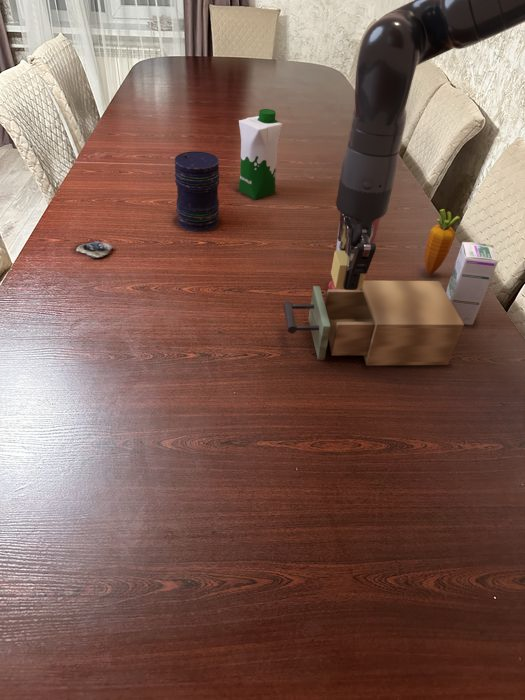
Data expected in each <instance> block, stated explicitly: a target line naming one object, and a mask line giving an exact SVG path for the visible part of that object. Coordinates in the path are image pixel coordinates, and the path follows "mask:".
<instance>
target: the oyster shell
mask: <svg viewBox="0 0 525 700" xmlns="http://www.w3.org/2000/svg"><path fill="white" fill-rule="evenodd" d="M113 248H114V246H113V245H112V244H110V243H108V242H104V241H103V242H102V241H98V240H97V241H92V242H90V243H83V244H80V245H78V246H77V247H76V252H79V253H81V254H86V255H87V256H89V257H91V258H93V259H98V258H103V257H104V256H106V255H109V253H110V252H111V250H112V249H113Z"/></svg>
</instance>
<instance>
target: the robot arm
mask: <svg viewBox="0 0 525 700" xmlns="http://www.w3.org/2000/svg"><path fill="white" fill-rule="evenodd" d="M524 23H525V0H411V1H409V2H407V3H406V4H403V5H401V6H399V7H397V8H394V9H393V10H390V11H389V12H387V13H385V14H384V15H382V16H381V17H380V18H379V19H377V20H376V21H375V22H374V23H372V25H370V27H369V28H368V29H367V31H366V32H365V33H364V35H363V38H362V40H361V43H360V46H359V49H358V54H357V55H358V56H357V60H356V61H357V62H356V69H355V82H354V84H355V85H354V109H353V113H352V117H351V122H350V127H349V134H348V139H347V145H346V149H345V152H344V155H343V159H342V165H341V171H340V177H339V182H338V188H337V193H336V194H337V195H336V200H335V206H336V209H337V211H338V212H340V214H341V215H340V214H339V221H340V225H339V224H338V228H339V235H338V234H337V238H338V241H341V242H340V245H339V248H340V250H342V251H345V253H346V254H347V255H348V258H347V265H346V273H345V278H344V284H343V287H344V289H345V290H356V289H357V288H358V283H359V279H360V274H365V275H366V274H368V271H369V269H370V266H371V263H372V261H373V258H374V255H375V253H376V250H377V244H376V243H375V242H373V243H370V241H371V238H372V236H373V225H372V222H373V221H375V220H376V219H378V218H380V219H381V218H383V217H384V216H385V215H386V214H387V212H388V209H389V204H390V201H391V200H390V199H391V196H392V192H393V188H394V183H395V179H396V174H397V172H398V171H397V170H398V165H399V163H398V162H399V154H400V149H401V144H402V141H403V136H404V131H405V127H406V123H407V108H406V107H407V104H408V100H409V96H410V92H411V88H412V84H413V80H414V77H415V72H416V69H417V67H418V66H420V65H421V64H423V63H425V62H427V61H429V60H432V59H433V58H434V59H435V58H436V57H438V56H440V55H443V54H444V53H447V52H449V51H451V50H454V49H456V50H461V49H462V50H463V49H465V48H468V47H469V48H470V47H472V46H474V45H477V44H479V43H481V42H483V41H486V40H488V39H490V38H493V37H495V36H497V35H499V34H502V33H504V32H506V31H508V30H510V29H513V28H516V27H517V26H519V25H521V24H524ZM352 258H353V259H352Z"/></svg>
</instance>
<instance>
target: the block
mask: <svg viewBox="0 0 525 700" xmlns="http://www.w3.org/2000/svg"><path fill="white" fill-rule="evenodd" d="M347 258H348V255H347V254H346V253H345V251H336V250H334V253H333V259H332V265H331V270H330V275H331V280H332V279H333V282H334V285H335V288H336V289H344V287H343V284H344V278H345V273H346V265H347ZM352 259H353V258H352ZM365 277H366V274H360V279H359V283H358V288H357V289H362V287H363V283H364V280H365V279H366V278H365Z"/></svg>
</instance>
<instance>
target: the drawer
mask: <svg viewBox="0 0 525 700" xmlns="http://www.w3.org/2000/svg"><path fill="white" fill-rule="evenodd" d="M326 291H327V292H326V297H325V300H324V296H323V292H322V289H321V286H320V285H313V286H312V293H311V298H310V299H311V300H310V304H309V303H308V304H307V303H296V304H295V303H292V302H291V301H288V300H287V301H285V302H284V303H283V312H284V317H285V323H286V324H285V325H286V329H287V332H288V333H289V334H294V333H296V332H297V331H311V335H312V340H313V344H314V348H315V349H314V350H315V353H316V358H317V360H325V358H326V353H327V348H328V347H329V351H330V354H331V356H363V355H368V351H369V347H370V343H371V339H372V335H373V332H374V328H375V323H374V320H373V318H372V315H371V312H370V310H369V307H368V304H367V301H366V299H365V296H364V293H363V291H362V290H345V289H329V288H328V289H327V290H326ZM294 310H309V312H308V322H309V325H297V323H296V319H295V314H294Z"/></svg>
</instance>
